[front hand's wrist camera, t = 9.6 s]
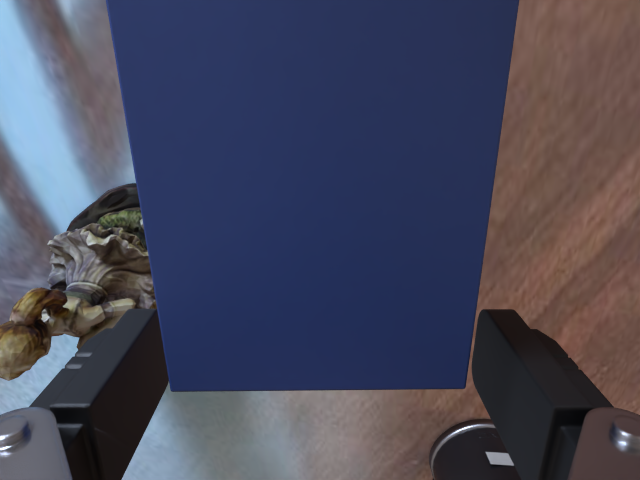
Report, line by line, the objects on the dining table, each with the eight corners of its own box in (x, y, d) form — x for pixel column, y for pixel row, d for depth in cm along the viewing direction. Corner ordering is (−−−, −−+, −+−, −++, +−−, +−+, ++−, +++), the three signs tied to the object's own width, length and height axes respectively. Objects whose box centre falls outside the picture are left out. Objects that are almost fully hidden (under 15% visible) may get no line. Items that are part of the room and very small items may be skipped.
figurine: (94, 320, 38) (-32, 465, 24) (41, 201, 35) (-144, 293, 21) (226, 295, 38) (175, 431, 24) (188, 171, 34) (100, 246, 20)
